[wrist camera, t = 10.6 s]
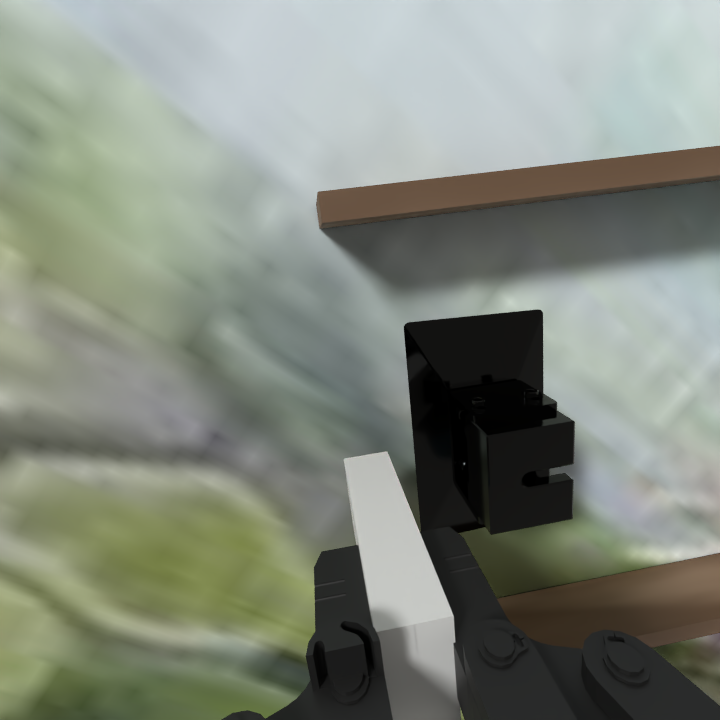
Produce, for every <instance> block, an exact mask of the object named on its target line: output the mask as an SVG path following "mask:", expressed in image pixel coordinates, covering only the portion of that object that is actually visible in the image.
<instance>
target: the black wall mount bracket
mask: <svg viewBox="0 0 720 720" xmlns="http://www.w3.org/2000/svg"><path fill="white" fill-rule="evenodd" d="M404 335H405V347H406V358H407V370H408V382H409V393H410V405H411V417H412V429H413V440H414V452H415V464H416V475H417V487H418V499H419V511H420V522H421V532H422V531H427V530H433V529H438V528H443V527H450V528H452V529H453V530H454V531H455V532H457V533H461V532H465V531H470V530H474V529H479V528H483V527H486V528H487V530H488V531H489V533H490V534H491V535H493V534H498V533H503V532H508V531H513V530H519V529H524V528H529V527H534V526H539V525H544V524H550V523H555V522H560V521H565V520H570V519H572V518H573V481H574V480H573V479H571V478H570V477H569V476H568V475H567V474H565V473H562V474H557V475H551V476H550V468H555V467H561V466H567V465H572V464H574V437H575V422H574V421H573V420H571V419H570V418H568V417H567V416H565V415H563V414H562V413H560V412H559V411H557V402H556V401H555V400H553V399H551V398H550V397H548V396H546V395H545V394H543V312H542V311H541V310H529V311H519V312H509V313H499V314H489V315H479V316H469V317H459V318H449V319H439V320H429V321H419V322H409V323H406V324H405V326H404Z"/></svg>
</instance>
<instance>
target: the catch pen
mask: <svg viewBox="0 0 720 720" xmlns="http://www.w3.org/2000/svg"><path fill="white" fill-rule="evenodd" d="M716 180H720V146H714V147H705V148H696V149H687V150H679V151H670V152H661V153H653V154H644V155H635V156H626V157H618V158H609V159H600V160H591V161H583V162H574V163H565V164H557V165H548V166H539V167H530V168H522V169H513V170H504V171H496V172H487V173H478V174H469V175H461V176H452V177H443V178H434V179H426V180H417V181H408V182H400V183H391V184H382V185H373V186H365V187H356V188H347V189H339V190H330V191H321V192H318V194H317V202H316V206H317V213H318V220H319V227H320V229H322V228H331V227H339V226H347V225H355V224H363V223H372V222H380V221H388V220H396V219H404V218H413V217H421V216H429V215H437V214H445V213H453V212H462V211H470V210H478V209H486V208H494V207H503V206H511V205H519V204H527V203H535V202H544V201H552V200H560V199H568V198H576V197H585V196H593V195H601V194H609V193H617V192H625V191H634V190H642V189H650V188H658V187H666V186H675V185H683V184H691V183H699V182H707V181H716ZM497 600H498V602H499V604H500V605H501V607H502V609H503V611H504V613H505V615H506V616H507V618H508V619H509V621H510V622H511V623H512V624H513V625H515V626H516V627H518V628H519V629H521V630H522V631H523V632H524V633H525V634H526V635H527V636H528V637H529V638H531V639H533V640H535V641H538V642H540V643H544V644H548V645H553V646H562V647H571V648H580V649H583V645H584V640H585V639H586V638H587V637H588V636H589V635H590V634H591V633H593V632H597V631H601V630H613V631H620V632H623V633H626V634H628V635H631V636H633V637H636V638H637V639H639V640H640V641H642V642H643V643H645V644H646V645H648V646H649V647H651V648H653V647H657V646H662V645H666V644H671V643H675V642H680V641H684V640H689V639H693V638H698V637H702V636H707V635H712V634H716V633H720V553H718V554H713V555H708V556H704V557H699V558H694V559H689V560H684V561H679V562H674V563H669V564H664V565H659V566H654V567H649V568H644V569H640V570H635V571H630V572H625V573H620V574H615V575H610V576H605V577H600V578H595V579H590V580H585V581H581V582H576V583H571V584H566V585H561V586H556V587H551V588H546V589H541V590H536V591H531V592H526V593H522V594H517V595H512V596H507V597H502V598H497Z"/></svg>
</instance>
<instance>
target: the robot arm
mask: <svg viewBox="0 0 720 720" xmlns="http://www.w3.org/2000/svg"><path fill="white" fill-rule="evenodd" d="M344 464H345V471H346V478H347V485H348V492H349V499H350V506H351V513H352V520H353V527H354V533H355V539H356V545H355V546H349V547H344V548H339V549H333V550H328V551H323V552H321V554H320V556H319V558H318V560H317V563H316V565H315V567H314V584H315V629H316V631H315V633H314V635H313V636H312V638H311V639H310V641H309V643H308V648H307V653H306V659H307V664H308V669H309V674H310V679H311V680H310V682H309V684H308V685H307V687H306V689H305V690H304V691H303V692H302V693H301V694H300V696H299V697H298V698H297V699H296V700H294V701H293V702H291V703H290V704H289V705H287V706H286V707H284V708H283V709H281V710H279V711H278V712H276V713H274V714H273V715H271V716H269V717H268V718H266V719H265V718H264V717H263V716H262V715H261V714H258V713H255V712H252V711H248V710H247V711H241V712H236V713H232V714H230V715H229V716H227V717H225V718H223V719H222V720H461V714H460V707H461V710H462V713H463V716H464V719H465V720H720V706H719V705H718V704H717V703H716V702H714V701H713V700H712V699H711V698H710V697H709V696H707V695H706V694H705V693H704V692H703V691H702V690H700V689H699V688H698V687H697V686H696V685H694V684H693V683H692V682H691V681H690V680H689V679H687V678H686V677H685V676H684V675H683V674H682V673H680V672H679V671H678V670H677V669H676V668H675V667H673V666H672V665H671V664H670V663H669V662H667V661H666V660H665V659H664V658H663V657H662V656H660V655H659V654H658V653H657V652H656V651H655V650H653V649H652V648H651V647H649V646H648V645H646V644H645V643H643V642H642V641H640V640H639V639H637V638H636V637H633V636H631V635H628V634H626V633H623V632H620V631H613V630H601V631H597V632H593V633H591V634H590V635H589V636H588V637H587V638H586V639H585V640H584V645H583V649H580V648H571V647H562V646H553V645H548V644H544V643H540V642H538V641H535V640H533V639H531V638H529V637H528V636H527V635H526V634H525V633H524V632H523V631H522V630H521V629H519V628H518V627H516V626H515V625H513V624H512V623H511V622H510V621H509V619H508V618H507V616H506V615H505V613H504V611H503V609H502V607H501V605H500V604H499V602H498V600H497V598H496V596H495V595H494V593H493V591H492V589H491V587H490V585H489V584H488V582H487V580H486V578H485V576H484V574H483V573H482V571H481V569H480V568H479V566H478V564H477V562H476V560H475V558H474V556H472V553H471V551H470V549H469V547H468V545H467V543H466V542H465V540H464V538H463V537H462V536H461V535H459V534H458V533H457V532H455V531H454V530H453V529H452V528H450V527H443V528H438V529H433V530H427V531H422V532H420V531H419V529H418V526H417V524H416V522H415V519H414V517H413V514H412V512H411V509H410V507H409V504H408V502H407V499H406V497H405V494H404V492H403V489H402V487H401V484H400V482H399V479H398V477H397V474H396V472H395V469H394V467H393V465H392V462H391V460H390V457H389V455H388V452H381V453H375V454H369V455H363V456H357V457H351V458H345V459H344Z"/></svg>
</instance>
